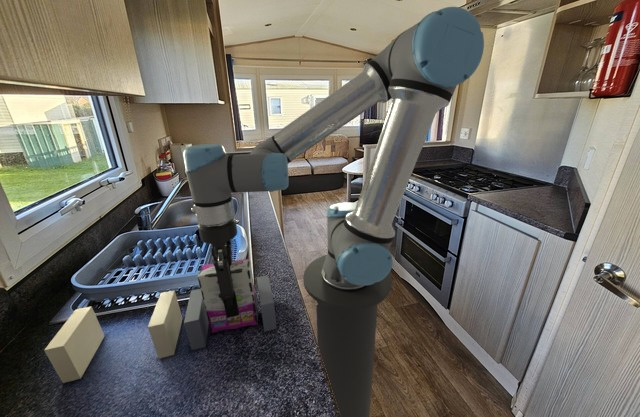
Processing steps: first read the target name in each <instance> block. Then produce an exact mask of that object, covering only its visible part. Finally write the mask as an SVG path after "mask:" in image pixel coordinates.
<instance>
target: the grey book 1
mask: <svg viewBox="0 0 640 417" xmlns="http://www.w3.org/2000/svg"><path fill="white" fill-rule="evenodd" d="M183 326H184V328H185V332H186V336H187V339H188V343H189V347H190V349H191V351H195V350H199V349H203V348H207V340H208V330H209V321H208V317H207V313H206V309H205V305H204V301H203V297H202V293H201V289H200V288H197V289H191V290H190V294H189V298H188V303H187V308H186V311H185V315H184V320H183Z"/></svg>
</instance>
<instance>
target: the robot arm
mask: <svg viewBox="0 0 640 417" xmlns="http://www.w3.org/2000/svg"><path fill="white" fill-rule="evenodd" d="M480 24H481V23H480V21H478V18H476V16H475V15H474V14H473V13H472V12H470V10H467V9H465V8H463V7H460V6H447V7H442V8H440V9H438V10H435V11H432V12H429V13H428V14H426V15H425V16H424V17H422V18H421V20H420V21H418V22H417V23H415V24H414V25H412V26H410V27H408V28H407V29H405V30H404V31H403V32H401V33H399V34H398V35H397V36H396V37H395V38H394V39H393V40H392V41H391V42H390V43H389V44H388V45H387V46H386V47H384V49H382V50H381V51H380V52H379V53H378V54H377V55H376V56H374V57H373V58H372V59H371V60H369V61H368V62H366V63H365V64H363V67H362V72H360V73H359V74H358V75H356V76H355V77H353V78H352V79H350V80H349V81H348V82H346V83H344V84H343V85H342V86H341V87H339V88H338V89H336V90H335V91H333V92H332V93H331V94H329V95H328V96H326V97H325V98H323V99H322V100H320V102H318V103H316V104H315V105H314V106H312V107H311V108H310V109H308V110H306V111H305V112H303V113H302V114H301V115H300V116H298V117H297V118H295V119H294V120H293V121H291V122H290V123H288V124H287V125H286V126H284V127H283V128H281V129H280V130H278V131H277V132H275V133H274V134H273V135H272V136H270V137H268V138H267V139H265V140H264V141H263V142H260V143H258V144H257V145H256V146H254V147H253V148H252V150H251V152H249V153H246V154H244V153H243V154H227V152H226V151H225V147H224V146H223V145H222V144H220V143H219V144H218V143H204V144H195V145H190V146H188V147H186V148H185V149H184V150H183V154H182V155H183V163H184V169H185V170H184V172H185V175H186V178H187V182H188V186H189V192H190V195H191V198H192V199H191V200H192V204H193V207H191V210H190V211H191V212H192V213H195V219H196V222H197V223H198V224H197V228H198V234H199V238H200V240H201V241H202V243H205V244H207V245H208V244H209V245H211V249H210V251H211V256H212V257H213V263H212V264H214V266H215V270H216V274H217V279H218V284H219V289H220V294H219V298H221V300H223V302H224V307H225V312H226V317H227V318H230V317H234V316H238V315H239V311H238V305H237V300H236V294H235V291H234V288H233V282H232V276H231V268H230V266H231V265H232V261H233V250H232V240H233V239H234V238H235V237H236V236H237V235H238V227H237V221H236V218H235V216H236V212H235V205H234V200H233V196H232V194H238V193H260V192H261V193H262V192H268V193H269V192H270V193H273V192H277V191H285V190H286V189H287V188H288V187H289V184H290V183H289V182H290V181H289V180H290V179H289V163H291V162H292V161H294V160H296V158H298V157H300V156H301V155H302V154H304V153H306V152H308V151H309V150H311V148H313V147H315V146H316V145H317V144H319V143H320V142H322V141H324V140H325V139H327V138H329V136H331V135H333V134H334V133H335V132H337V131H338V130H340V129H341V128H342V127H344V126H346V125H347V124H348V123H350V122H352V121H353V120H354V119H356V118H357V117H359V116H360V115H362V114H363V113H364V112H366V111H368V110H369V109H371V108H372V107H374V106H375V105H376V104H378V103H381V104H386V103H387V102H389V101H390V100H391V103H390V107H389V109H388V112H387V115H386V118H385V121H384V124H383V127H382V130H381V132H380V135H379V139H378V142H377V145H376V148H375V150H374V153H373V156H372V159H371V163H370V165H369V168H368V171H367V174H366V176H365V180H364V182H363V185H362V189H361V191H360V194H359V197H358V200H357V202H337V203H335V204H331V205H330V206H329V207H328V208H327V210H326V211H327V213H326V215H325V216H326V221H327V223H326V225H327V226H326V227H327V228H326V229H327V230H326V231H327V254H326V255H327V257H326V259H325V262H324V265H323V268H322V272H321V273H322V278H323V280H324V282H325V283H326V284H327V285H328V286H330V287H332V288H334V289H336V290H340V291H349V292H350V291H358V290H361V289H363V288H365V287H367V286H368V285H372V284H374V283H375V282H379V281H381V280H383V279H384V278H385V277H386V276H387V275H388V274H389V272H390V273H391V271H392V269H393V263H394V262H393V261H394V260H393V255H392V253H391V251H390V248H391V246H392V244H393V241H394V239H395V236H396V230H395V228H394V226H393V223H394V222H393V221H394V219H395V217H396V214H397V211H398V209H399V207H400V204H401V202H402V199H403V197H404V195H405V192H406V190H407V187H408V184H409V181H410V179H411V176H412V175H413V172H414V169H415V167H416V164H417V162H418V159H419V157H420V154H421V152H422V150H423V147H424V145H425V142H426V140H427V137H428V134H429V132H430V130H431V127H432V125H433V123H434V120H435V117H436V115H437V113H438V112H439V111H441V110H443V109H445V108H446V107H449V105H450V102H451V100H452V98H453V95H454V93H455V91H456V88H457V86H459V85H461V84H464V82H466V81H467V80H468V79H470V77H472V75H474V73H476V70H477V69H478V67H479V66H480V63H481V62H482V58H483V55H484V48H485V38H484V33H483V31H482V30H481V25H480Z"/></svg>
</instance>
